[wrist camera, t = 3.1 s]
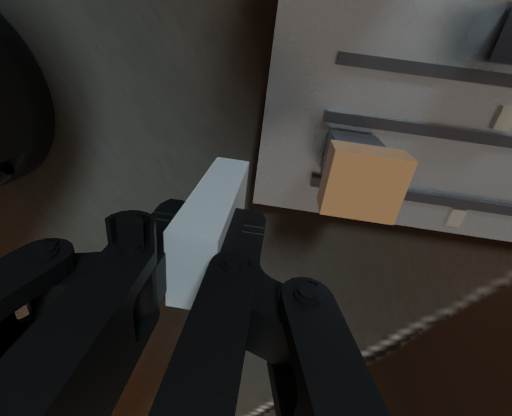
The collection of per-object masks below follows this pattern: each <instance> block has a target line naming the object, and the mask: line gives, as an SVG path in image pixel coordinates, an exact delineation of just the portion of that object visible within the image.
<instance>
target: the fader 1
mask: <svg viewBox="0 0 512 416" xmlns="http://www.w3.org/2000/svg"><path fill="white" fill-rule="evenodd" d="M417 164H418V161H417V160H415V159H414V158H413V157H412V156H411V155H410V154H409V153H408V152H406V151H405V150H402V149H395V148H388V147H386V146H385V145H384V144H383V143H382V142H381V141H380V140H379V139H378V138H377V137H376V136H375V135H369V134H362V133H355V132H348V131H341V130H334V129H330V131H329V135H328V140H327V144H326V148H325V153H324V157H323V161H322V165H321V170H320V172H321V176H322V178H321V182H320V186H319V191H318V195H317V203H318V208H319V214H321V215H328V216H334V217H341V218H348V219H354V220H361V221H368V222H374V223H381V224H387V225H394V223H395V221H396V218H397V215H398V213H399V210H400V208H401V205H402V203H403V200H404V198H405V195H406V193H407V190H408V187H409V185H410V182H411V180H412V177H413V175H414V172H415V170H416V167H417Z"/></svg>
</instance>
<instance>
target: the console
mask: <svg viewBox="0 0 512 416" xmlns="http://www.w3.org/2000/svg"><path fill="white" fill-rule="evenodd" d="M511 9H512V0H278V7H277V15H276V23H275V30H274V38H273V46H272V54H271V62H270V70H269V78H268V86H267V94H266V102H265V110H264V118H263V126H262V134H261V141H260V149H259V157H258V165H257V173H256V181H255V189H254V197H253V203H256V204H262V205H269V206H276V207H282V208H289V209H296V210H302V211H309V212H315V213H319V208H318V203H317V195H318V191H319V186H320V182H321V178H322V176H321V172H320V170H321V165H322V161H323V157H324V153H325V148H326V144H327V140H328V135H329V131H330V129H334V130H341V131H348V132H355V133H362V134H369V135H375V136H376V137H377V138H378V139H379V140H380V141H381V142H382V143H383V144H384V145H385V146H386V147H388V148H395V149H402V150H405V151H406V152H408V153H409V154H410V155H411V156H412V157H413V158H414V159H415V160H417V161H418V164H417V167H416V170H415V172H414V175H413V177H412V180H411V182H410V185H409V187H408V190H407V193H406V195H405V198H404V200H403V203H402V205H401V208H400V210H399V213H398V215H397V218H396V221H395V223H394V224H395V225H402V226H408V227H415V228H422V229H428V230H435V231H442V232H448V233H455V234H461V235H468V236H475V237H481V238H488V239H495V240H501V241H508V242H512V65H506V64H498V63H491V62H488V61H489V59H490V57H491V54H492V52H493V50H494V48H495V45H496V43H497V41H498V38H499V36H500V34H501V32H502V29H503V27H504V25H505V22H506V20H507V18H508V15H509V13H510V11H511Z"/></svg>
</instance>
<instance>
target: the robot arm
mask: <svg viewBox="0 0 512 416" xmlns="http://www.w3.org/2000/svg"><path fill="white" fill-rule="evenodd" d="M53 133H54V114H53V107H52V102H51V97H50V94H49V90H48V87H47V84H46V82H45V79H44V77H43V74H42V72H41V70H40V68H39V66H38V64H37V62H36V60H35V58H34V57H33V55H32V53H31V52H30V50H29V48H28V47H27V45H26V44H25V43H24V41H23V40H22V38H21V37H20V36H19V35H18V33H17V32H16V31H15V30H14V28H13V27H12V26H11V25H10V24H9V23H8V22H7V21H6V19H5V18H4V17H3V16H2V15H1V14H0V186H2V185H5V184H7V183H10V182H12V181H14V180H16V179H18V178H20V177H22V176H25V175H27V174H28V173H30V172H32V171H33V170H35V169H36V168H37V167H38V166H39V165H40V164H41V163H42V161H43V160H44V159H45V157H46V155H47V154H48V151H49V149H50V146H51V143H52V139H53ZM248 170H249V162H248V161H241V160H234V159H228V158H221V157H217V158H216V160H215V161H214V162H213V164H212V165H211V166H210V168H209V169H208V171H207V172H206V173H205V175H204V176H203V178H202V179H201V180H200V182H199V183H198V185H197V186H196V187H195V189H194V190H193V192H192V193H191V194H190V196H189V197H188V199H187V200H186V201H183V200H176V199H169V200H167V201H165V202H163V203H161V204H160V205H159V206H158V207H157V208H156V209H155V210H154V212H153V213H152V214H149V213H147V212H143V211H136V210H128V211H121V212H117V213H114V214H111V215H110V216H108V217H107V218H105V224H106V231H107V238H108V245H107V246H106V247H105V248H104V249H103V250H102V252H90V253H75V252H74V248H73V245H72V243H71V242H69V241H68V240H65V239H60V238H46V239H42V240H37V241H34V242H31V243H29V244H26V245H24V246H22V247H20V248H18V249H16V250H14V251H13V252H11V253H9V254H7V255H5V256H3V257H1V258H0V416H111V414H112V412H113V410H114V408H115V406H116V404H117V402H118V400H119V398H120V396H121V394H122V392H123V390H124V388H125V386H126V384H127V382H128V380H129V378H130V376H131V374H132V372H133V370H134V368H135V366H136V364H137V362H138V360H139V358H140V356H141V354H142V352H143V350H144V348H145V346H146V344H147V342H148V340H149V338H150V336H151V334H152V332H153V330H154V328H155V326H156V324H157V322H158V319H159V315H160V302H161V300H162V299H163V297H164V295H165V298H166V306H170V307H176V308H182V309H188V310H190V312H189V315H188V317H187V320H186V322H185V325H184V327H183V330H182V332H181V335H180V337H179V340H178V342H177V345H176V347H175V350H174V352H173V355H172V357H171V360H170V362H169V365H168V367H167V370H166V372H165V375H164V377H163V380H162V382H161V385H160V387H159V390H158V392H157V395H156V397H155V400H154V402H153V405H152V407H151V410H150V412H149V415H148V416H235V412H236V406H237V400H238V393H239V387H240V381H241V375H242V369H243V363H244V356H245V351H246V350H248V351H249V352H251V353H253V354H255V355H257V356H259V357H261V358H263V359H265V360H267V366H268V372H269V378H270V384H271V389H272V395H273V401H274V407H275V412H276V416H391V415H390V413H389V411H388V409H387V407H386V405H385V403H384V401H383V399H382V397H381V394H380V392H379V390H378V388H377V386H376V384H375V382H374V380H373V378H372V376H371V374H370V371H369V369H368V367H367V365H366V363H365V361H364V359H363V357H362V355H361V353H360V350H359V348H358V346H357V344H356V342H355V340H354V338H353V336H352V334H351V332H350V330H349V327H348V325H347V323H346V321H345V319H344V317H343V315H342V313H341V311H340V309H339V306H338V304H337V302H336V300H335V298H334V296H333V294H332V293H331V292H330V290H329V289H328V288H327V287H326V286H325V285H323V284H322V283H321V282H319V281H316V280H314V279H311V278H306V277H296V278H291V279H290V280H288V281H286V282H285V283H284V284H283V283H281V282H278V281H276V280H274V279H272V278H270V277H269V276H268V275H267V274H265V272H264V271H263V270H262V268H261V266H260V255H261V249H262V243H263V236H264V230H265V223H266V218H265V217H264V215H263V213H262V212H259V211H253V210H247V209H244V205H245V196H246V187H247V178H248ZM25 304H26V306H27V309H28V312H29V315H27V316H26V317H24V318H22V319H16V316H15V313H14V312H15V311H17V310H18V309H19V308H21V307H22V306H24V305H25Z"/></svg>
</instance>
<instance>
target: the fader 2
mask: <svg viewBox="0 0 512 416" xmlns="http://www.w3.org/2000/svg"><path fill="white" fill-rule="evenodd" d="M488 62H491V63H498V64H506V65H512V9H511V11H510V13H509V15H508V18H507V20H506V22H505V25H504V27H503V29H502V32H501V34H500V36H499V38H498V41H497V43H496V45H495V48H494V50H493V52H492V54H491V57H490V59H489V61H488Z"/></svg>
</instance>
